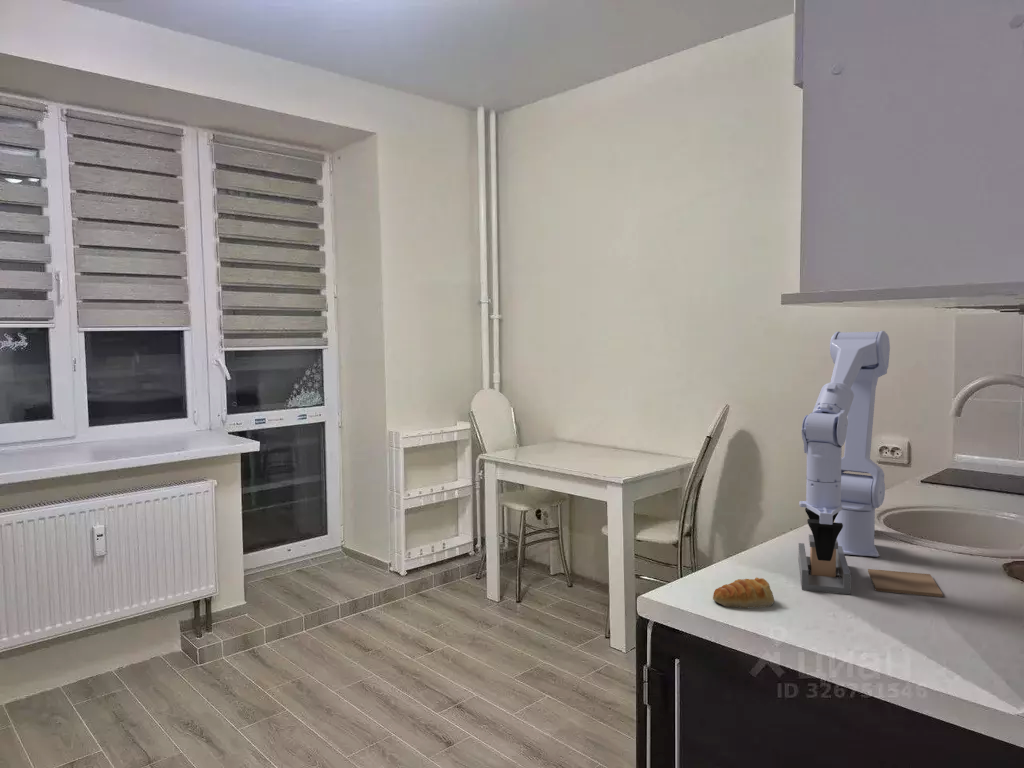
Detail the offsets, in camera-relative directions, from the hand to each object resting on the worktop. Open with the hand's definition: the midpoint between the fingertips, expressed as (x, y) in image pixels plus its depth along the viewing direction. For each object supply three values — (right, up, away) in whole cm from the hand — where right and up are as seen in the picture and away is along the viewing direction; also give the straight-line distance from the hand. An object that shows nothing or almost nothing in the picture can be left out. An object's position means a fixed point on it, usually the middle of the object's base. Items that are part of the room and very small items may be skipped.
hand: (822, 553), depth 128 cm
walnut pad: (+12, -4, -4) cm, 14 cm away
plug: (0, -4, 0) cm, 4 cm away
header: (0, -4, 0) cm, 4 cm away
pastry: (-17, -6, -10) cm, 21 cm away
